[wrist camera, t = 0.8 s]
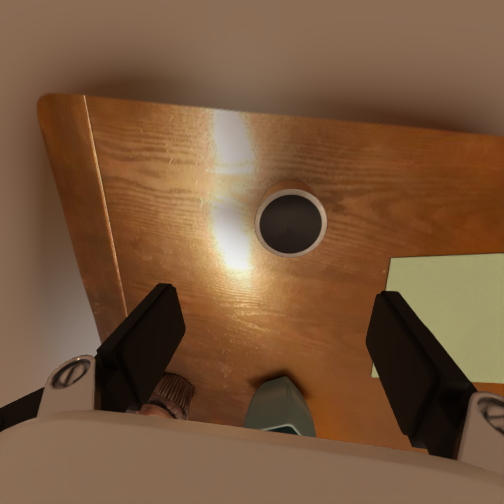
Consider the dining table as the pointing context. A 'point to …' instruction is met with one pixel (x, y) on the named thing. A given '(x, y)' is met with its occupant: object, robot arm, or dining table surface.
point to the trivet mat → (458, 307)
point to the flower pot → (280, 409)
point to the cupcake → (169, 399)
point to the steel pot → (290, 219)
